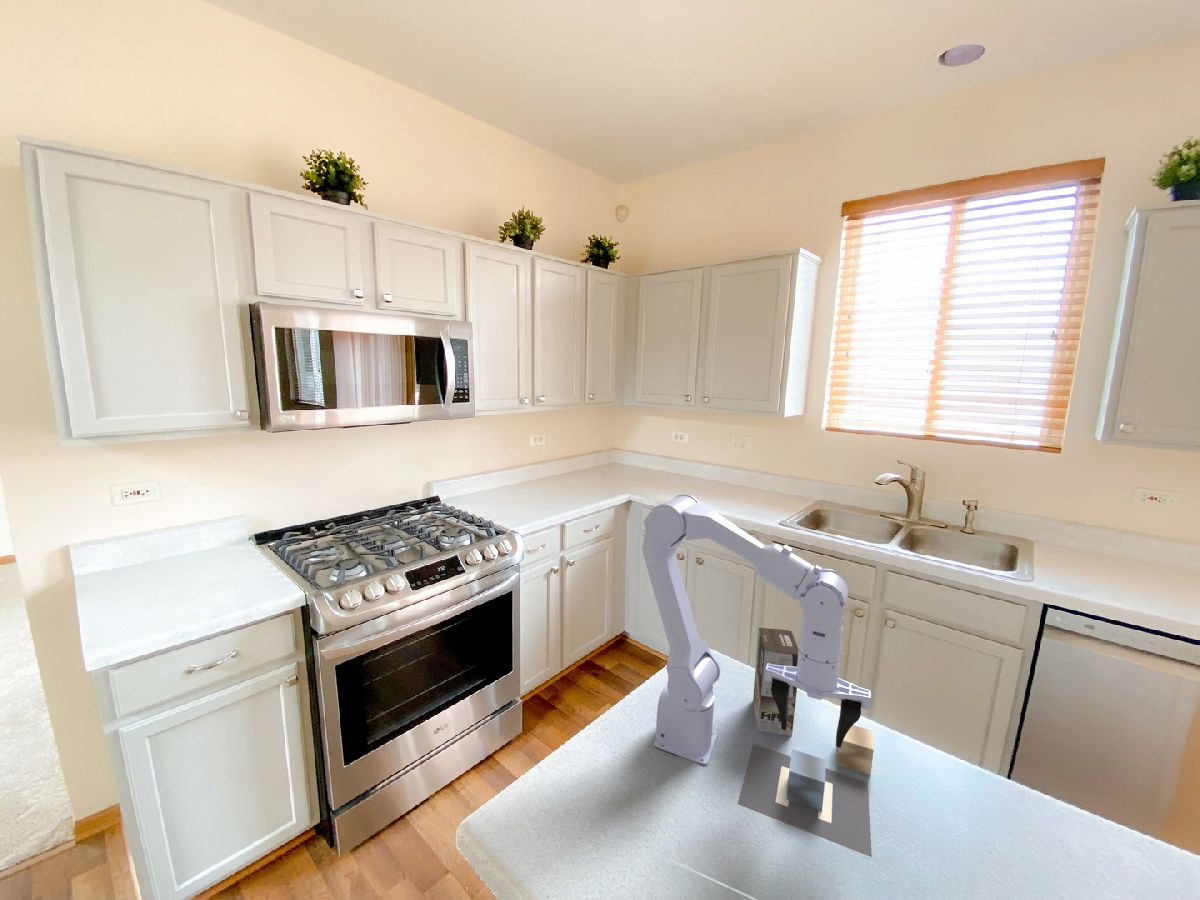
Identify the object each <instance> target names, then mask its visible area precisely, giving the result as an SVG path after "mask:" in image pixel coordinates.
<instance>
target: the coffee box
mask: <svg viewBox="0 0 1200 900" xmlns="http://www.w3.org/2000/svg"><path fill="white" fill-rule="evenodd" d="M756 643H757V644H756V655H755V656H756V657H755V658H756V659H755V670H754V671H755V672H754V681H753V683H754V685H753V686H754V687H753V697H752V702H753V710H754V716H755V721H756V728H757V731H759V732H764V733H769V734H777V735H782V736H791V737H792V736H793V731H794V723H795V721H794V719H795V712H796V703H797V691H798V688H797V687H795V686H791V685H790V689H789V699H788V722H787V728H786V731H785V730H782V729H781V719H780V715H779V711H778V708H777V705H776V702H775V700H774V698H773V696H772V693H771V686H772V682H768V681H765V670H766V666H767V663H769V664H774V665H781V666H793V667H797V661H798V651H799V646H798V644H797V641H796V639H795V637H794V634H793V632H792V630H788V629H782V628H781V629H779V628H768V627H758V633H757V641H756Z"/></svg>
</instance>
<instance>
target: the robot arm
mask: <svg viewBox="0 0 1200 900" xmlns="http://www.w3.org/2000/svg"><path fill="white" fill-rule="evenodd" d="M643 524H644V525H643V526H644V529H645V530H644V535H643V536H644V537H643V543H642V546H641V547H642V548H641V550H642V555H643V559H644V563H645V565H646V569H647V572H648V576H649V580H650V583H651V586H652V591H653V594H654V597H655V600H656V604H657V609H658V610H659V611H658V612H659V616H660V618H661V621H662V624H663V625H662V626H663V628H664V632H665V635H666V639H667V643H668V646H669V652H668V658H667V662H666V666H665V667H666V668H665V669H666V673H667V677H668V678H667V685H666V686H664V688H663V689H662V691H661V693H660V694H659V698H658V701H657V702H658V703H657V709H656V719H655V720H656V722H655V724H656V725H655V739H654V742H653V745H654V748H657V749H660V750H663V751H665V752H668V753H670V754H673V755H676V756H679V757H681V758H684V759H687V760H689V761H693V762H694V763H698V764H700V765H703V766H708V764H709V762H710V759H711V756H712V754H713V750H714V748H715V745H716V743H717V740H718V736H719V735H718V733H716V732H713V725H714V724H713V723H714V713H715V712H714V708H715V694H714V690H713V689H714V688H713V687H714V684H715V683H716V682H717V681H718V680H719V678H720V674H721V667H720V664H719V662H718V660H717V659H716V657H715V656H714V655H713V653H711V650H710V647H709V644H708V643H707V642H706V641H704V640H703V639H701V638H700V635H699V633H698V632H699V631H698V629H697V628H698V627H697V625H696V622H695V621H696V620H695V618H694V615H693V610H692V609H691V604H690V601H689V597H688V594H687V590H686V586H685V583H684V580H683V576H682V573H681V569H680V566H679V563H678V558H677V556H676V551H677V550H678V548H679V546H680V545H681V543H682V542H683V540H684V539H685V541H693V540H701V539H702V540H703V539H704V540H705V539H709V540H711V541H712V542H714V543H717V545H719V546H721V547H723V548H725V549H727V550H729V552H732V553H734V554H736V555H737V556H738V557H741V558H743V559H744V560H746V561H749V563H752V564H753V566H754V570H755V572H756V574H757V576H758V577H760V578H761V579H763V580H764V581H766V582H768V583H769V584H771V585H773V586H774V587H775V588H777V589H778V590H780V591H782V592H783V593H785V594H786V595H788V596H789V597H790V598H791V597H792V598H793V599H794V600H796V601H799V603H800V607H801V609H802V610H803V614H802V615H803V616H802V618H801V622H800V623H801V624H800V632H799V645H798V649H799V651H798V661H797V667H793V666H781V665H774V664H769V663H767V666H766V670H765V681H768V682H772V686H771V693H772V696H773V698H774V700H775V702H776V705H777V708H778V711H779V715H780V719H781V729H782V730H785V731H786V728H787V722H788V699H789V689H790V685H791V686H795V687H797V689H798V690H802V692H805V693H806V696H807V697H809V698H811V699H814V700H815V699H816V700H819V701H821V700H823V699H824V698H832V699H837V700H840V701H841V702H840V708H839V709H840V710H839V711H840V712H839V717H838V724H837V728H836V733H835V747H836V748H838V747H839V748H841V745H842V742H843V740H844V738H845V736H846V734H847V732H848V731H849V729H850V728H851V727H852V726H853V725H855V724H856V723H857V722H858V721H859V720H860V718H861V715H862V709H865V710H868V711H870V710H871V703H872V702H871V701H872V693H871V690H870V689H867V688H863V687H860V686H858V685H856V684H854V683H851V682H849V681H847V680H844V679H842V678H840V677H839V673H840V672H839V671H840V663H841V654H842V645H843V636H844V625H843V624H844V622H845V616H844V615H845V612H846V608H845V607H846V605H847V601H848V599H849V586H848V584H847V581H846V580H845V579H844V578H843V577H842V576H841V575H840V574H838V572H837V571H835V569H831V568H823V567H821V566H820V565H818V564H815V565H813V564H811V563H810V562H808V561H806V560H805V559H803V558H802V557H800V556H798V555H796V554H794V552H793V548H792V547H790V546H788V545H787V544H784V545H783V546H781V545H780V544H778V543H773V544H764V543H762V542H761V541H759V540H758V539H757V538H755V537H753V536H752V535H750V534H749V533H747V532H746V531H744V530H743V529H741V528H740V527H738V526H737V525H735V524H734V523H732V522H731V521H730V520H728V519H726V518H725V517H723V516H722V515H721V514H719V513H718V512H717V511H715V510H714V509H713V508H712V507H711V506H710V505H709V504H708V503H706V502H704V501H702V500H700V501H699V499H697V498H696V497H695V496H693V495H691V494H686V493H683V494H682V493H681V494H679V495H676V496H675V497H673V498H672V499H670V500H667V501H665V502H663V503H660V504H658V505H656V506H654V507H653V508H652V509H651V510H650V512H649V513H648V515H647V516H646V517H645V519H644V520H643Z"/></svg>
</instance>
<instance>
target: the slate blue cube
mask: <svg viewBox="0 0 1200 900" xmlns="http://www.w3.org/2000/svg"><path fill="white" fill-rule="evenodd" d="M790 756H791V760H790V768H789V778H788V789H787V799H786V800H789V801H792V802H795V803H797V804H800V805H803V806H806V807H808V808H811V809H814V810H817V811H820V812H822V806H823V797H824V788H825V768H826V764H827V763H826V762H827V761H826V759H825V758H822V757H818V756H815V755H813V754H809V753H806V752H803V751H799V750H796V749H793V748H791V752H790Z"/></svg>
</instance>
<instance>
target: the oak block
mask: <svg viewBox="0 0 1200 900" xmlns="http://www.w3.org/2000/svg"><path fill="white" fill-rule="evenodd" d="M873 758H874V731H873V730H871V729H869V728H865V727H862V726H859V725H855V724H854V725H853V726H852V727H851V728H850V729H849V731H848V732H847V734H846V736H845V738H844V740H843V742H842V745H841V748H839V747H837V755H836V765H839V766H841V767H843V768H848V769H850V770H853V771H856V772H859V773H861V774H865V775H868V776H871V775H872V768H873V767H872V766H873V765H872V764H873Z"/></svg>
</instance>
